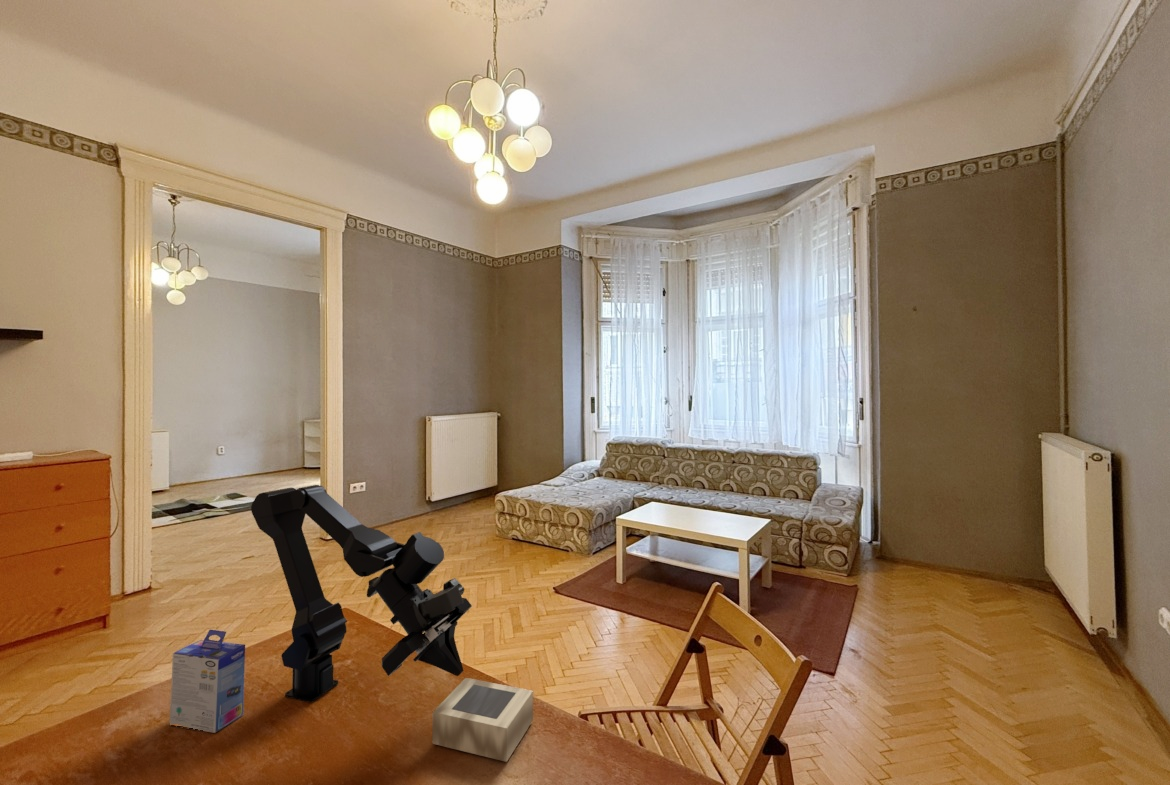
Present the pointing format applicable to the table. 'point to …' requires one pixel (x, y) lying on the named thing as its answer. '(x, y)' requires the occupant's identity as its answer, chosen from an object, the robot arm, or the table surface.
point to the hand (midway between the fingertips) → (460, 673)
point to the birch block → (483, 718)
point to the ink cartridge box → (207, 684)
